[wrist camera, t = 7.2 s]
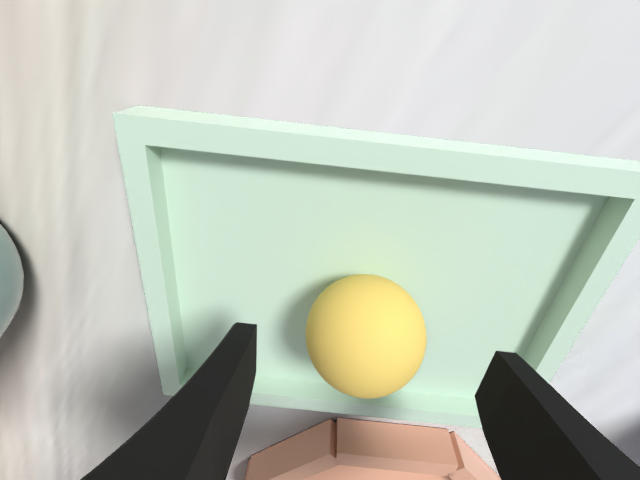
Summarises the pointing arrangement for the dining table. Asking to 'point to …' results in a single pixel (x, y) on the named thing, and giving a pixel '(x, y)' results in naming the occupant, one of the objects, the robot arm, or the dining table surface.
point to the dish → (369, 454)
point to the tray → (367, 247)
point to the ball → (366, 336)
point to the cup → (9, 280)
